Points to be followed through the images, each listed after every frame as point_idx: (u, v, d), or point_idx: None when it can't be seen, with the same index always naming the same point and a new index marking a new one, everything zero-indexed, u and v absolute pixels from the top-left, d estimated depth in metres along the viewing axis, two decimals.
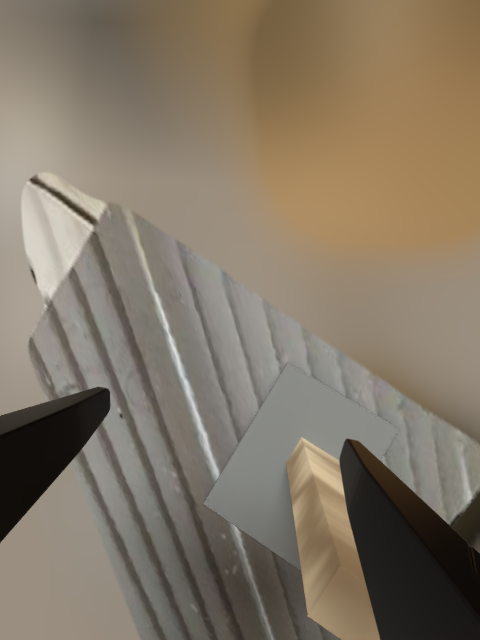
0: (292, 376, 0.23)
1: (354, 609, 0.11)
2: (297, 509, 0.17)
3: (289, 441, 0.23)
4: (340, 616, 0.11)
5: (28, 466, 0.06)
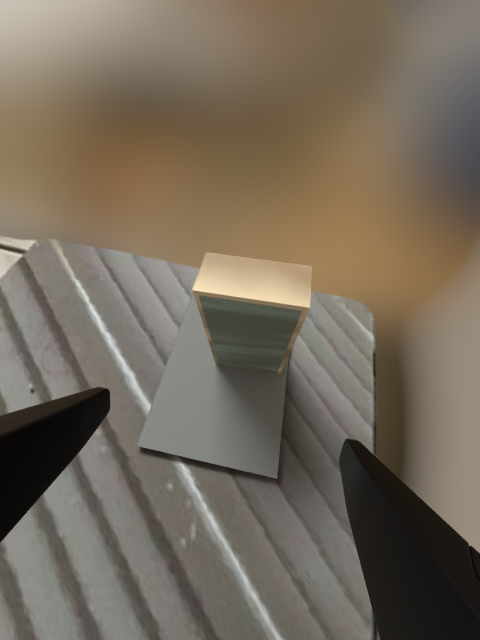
0: None
1: (225, 272, 0.14)
2: None
3: None
4: (216, 280, 0.13)
5: (27, 465, 0.06)
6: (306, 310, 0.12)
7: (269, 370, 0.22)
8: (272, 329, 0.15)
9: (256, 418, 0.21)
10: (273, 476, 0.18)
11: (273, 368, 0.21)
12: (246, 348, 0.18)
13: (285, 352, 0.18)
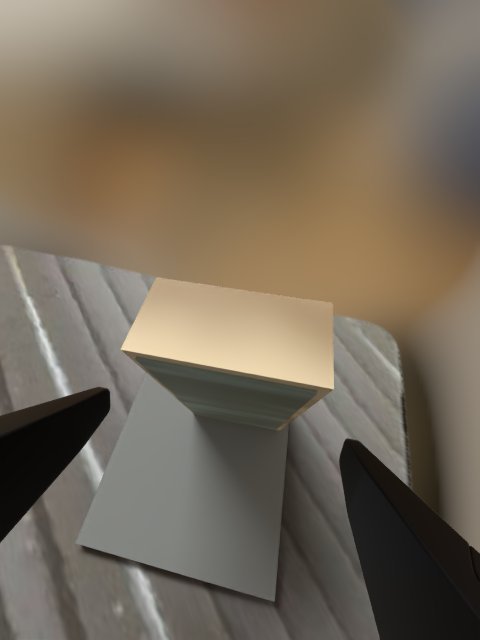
0: None
1: (183, 314, 0.08)
2: None
3: None
4: (166, 330, 0.08)
5: (28, 466, 0.06)
6: (326, 391, 0.07)
7: (264, 427, 0.16)
8: (266, 402, 0.09)
9: (246, 498, 0.15)
10: (269, 597, 0.13)
11: (270, 427, 0.15)
12: (229, 410, 0.12)
13: (286, 419, 0.12)
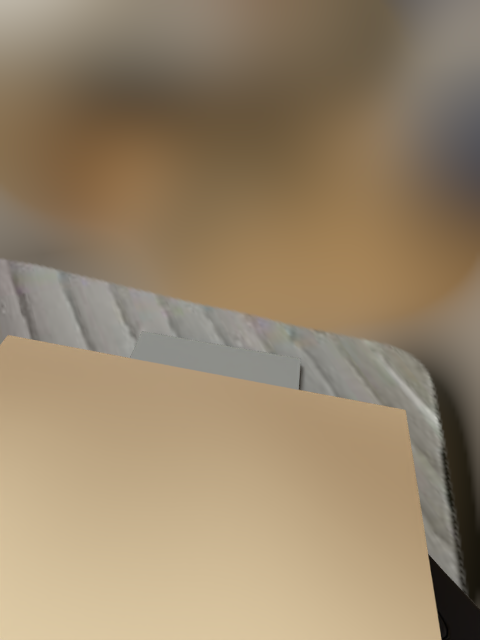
0: (150, 344, 0.17)
1: (34, 445, 0.03)
2: None
3: None
4: None
5: None
6: None
7: None
8: None
9: None
10: None
11: None
12: None
13: None
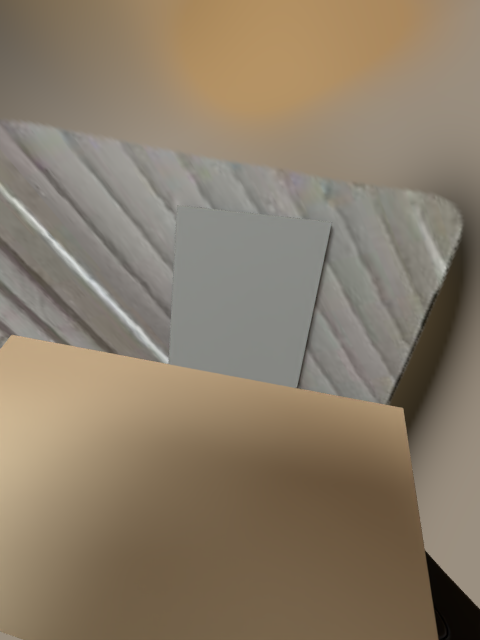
0: (189, 218, 0.18)
1: (38, 442, 0.03)
2: None
3: (217, 294, 0.20)
4: None
5: None
6: None
7: None
8: None
9: (272, 374, 0.20)
10: None
11: None
12: None
13: None
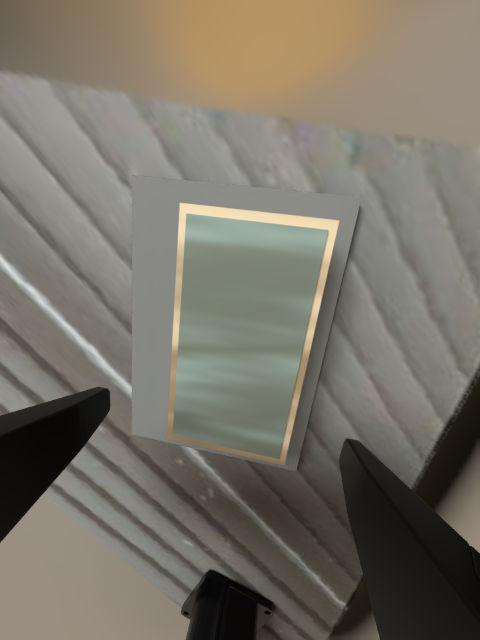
0: (150, 195, 0.13)
1: None
2: None
3: None
4: None
5: (28, 465, 0.06)
6: (334, 228, 0.09)
7: (266, 444, 0.12)
8: (283, 286, 0.10)
9: None
10: (291, 469, 0.16)
11: (274, 434, 0.12)
12: (234, 359, 0.11)
13: (299, 365, 0.11)
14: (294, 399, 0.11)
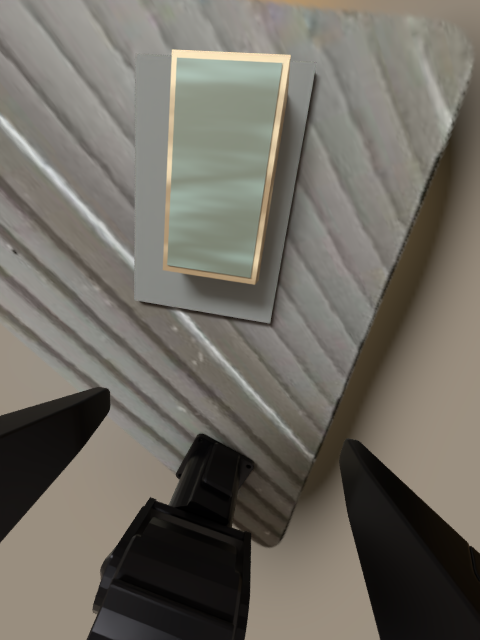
0: (150, 71, 0.16)
1: None
2: None
3: None
4: None
5: (28, 466, 0.06)
6: (287, 62, 0.12)
7: (240, 265, 0.15)
8: (250, 116, 0.13)
9: None
10: (266, 321, 0.19)
11: (246, 254, 0.15)
12: (214, 187, 0.14)
13: (264, 187, 0.14)
14: (261, 221, 0.14)
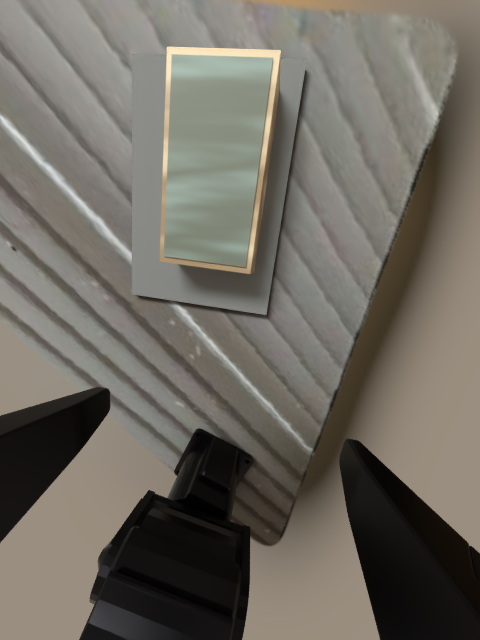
0: (146, 70, 0.16)
1: None
2: None
3: None
4: None
5: (27, 465, 0.06)
6: (277, 56, 0.13)
7: (235, 254, 0.15)
8: (243, 109, 0.13)
9: None
10: (262, 313, 0.19)
11: (241, 244, 0.15)
12: (209, 178, 0.14)
13: (257, 178, 0.14)
14: (255, 211, 0.15)
